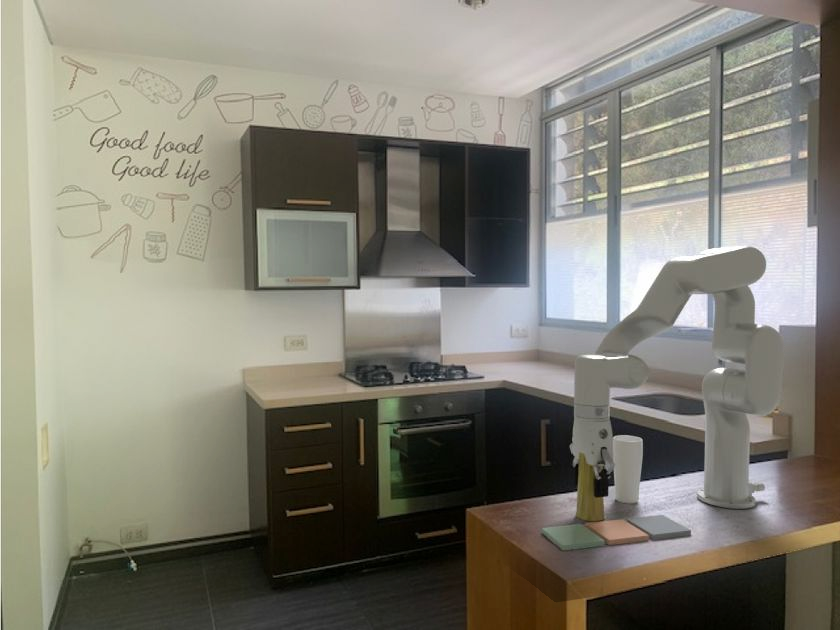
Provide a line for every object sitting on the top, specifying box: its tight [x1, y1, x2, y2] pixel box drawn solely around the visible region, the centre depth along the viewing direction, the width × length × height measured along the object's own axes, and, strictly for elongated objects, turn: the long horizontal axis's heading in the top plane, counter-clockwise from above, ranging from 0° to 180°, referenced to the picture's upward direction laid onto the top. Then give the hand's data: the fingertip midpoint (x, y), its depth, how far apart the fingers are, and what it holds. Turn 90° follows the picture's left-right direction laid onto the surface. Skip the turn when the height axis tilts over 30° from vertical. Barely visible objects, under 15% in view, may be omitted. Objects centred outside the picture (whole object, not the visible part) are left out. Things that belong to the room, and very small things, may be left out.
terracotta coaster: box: [584, 518, 650, 546], centre depth 127 cm, size 9×9×1 cm
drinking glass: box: [613, 434, 644, 505], centre depth 147 cm, size 7×7×15 cm
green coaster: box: [541, 523, 606, 551], centre depth 124 cm, size 9×9×1 cm
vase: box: [575, 453, 605, 523], centre depth 136 cm, size 6×6×14 cm
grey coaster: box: [626, 514, 692, 540], centre depth 130 cm, size 9×9×1 cm
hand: (590, 490), depth 136 cm, fingers open, 7 cm apart
